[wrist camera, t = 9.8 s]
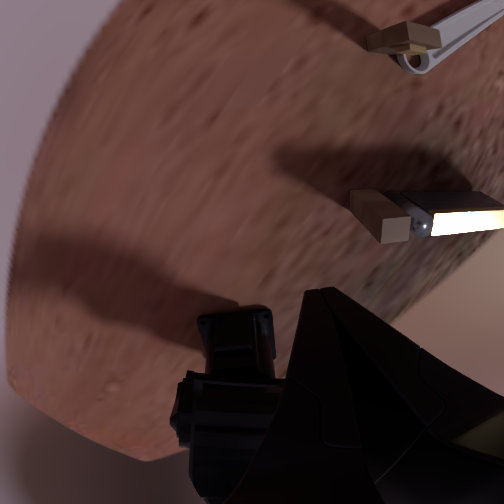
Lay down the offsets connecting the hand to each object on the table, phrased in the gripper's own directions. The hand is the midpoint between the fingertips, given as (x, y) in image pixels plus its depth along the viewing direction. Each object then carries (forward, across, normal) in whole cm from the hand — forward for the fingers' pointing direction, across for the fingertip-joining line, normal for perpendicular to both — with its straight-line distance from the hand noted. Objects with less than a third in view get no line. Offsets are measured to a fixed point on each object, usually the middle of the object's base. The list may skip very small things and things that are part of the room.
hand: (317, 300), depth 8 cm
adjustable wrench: (+14, -20, -16) cm, 30 cm away
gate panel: (+12, -14, +2) cm, 19 cm away
